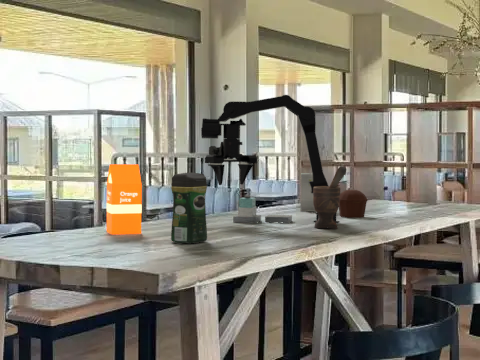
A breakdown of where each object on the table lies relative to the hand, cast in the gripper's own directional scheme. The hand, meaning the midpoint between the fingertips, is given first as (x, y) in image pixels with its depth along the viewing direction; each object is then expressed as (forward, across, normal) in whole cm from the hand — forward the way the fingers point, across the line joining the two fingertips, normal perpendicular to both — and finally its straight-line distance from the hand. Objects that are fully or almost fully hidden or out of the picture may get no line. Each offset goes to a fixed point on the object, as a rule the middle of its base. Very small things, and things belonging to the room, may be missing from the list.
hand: (231, 184), depth 268 cm
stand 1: (+12, -4, +4) cm, 14 cm away
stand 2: (+12, -13, +10) cm, 21 cm away
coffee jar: (+13, +45, +40) cm, 61 cm away
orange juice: (+13, +48, +11) cm, 51 cm away
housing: (+10, -4, +4) cm, 12 cm away
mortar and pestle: (+13, -13, +35) cm, 39 cm away
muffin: (+13, -50, +9) cm, 52 cm away
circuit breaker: (+13, -57, -21) cm, 62 cm away
